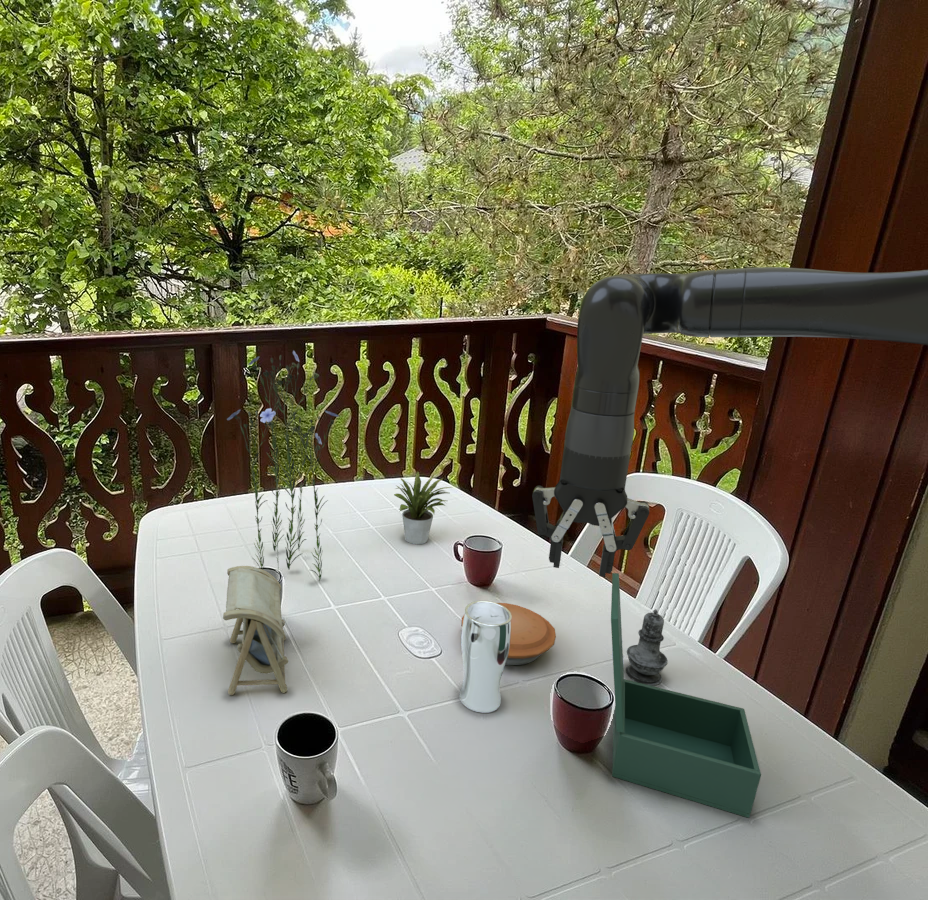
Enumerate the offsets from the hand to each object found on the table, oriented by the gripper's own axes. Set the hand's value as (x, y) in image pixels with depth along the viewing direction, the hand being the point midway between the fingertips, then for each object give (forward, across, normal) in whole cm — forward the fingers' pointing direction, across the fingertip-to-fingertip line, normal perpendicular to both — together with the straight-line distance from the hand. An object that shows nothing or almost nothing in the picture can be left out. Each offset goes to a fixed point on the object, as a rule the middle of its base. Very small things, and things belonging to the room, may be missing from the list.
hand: (579, 569), depth 82 cm
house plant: (+26, -35, +49) cm, 66 cm away
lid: (+10, +6, 0) cm, 12 cm away
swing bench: (+26, -46, -5) cm, 53 cm away
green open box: (+25, +15, 0) cm, 29 cm away
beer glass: (+26, -11, +2) cm, 28 cm away
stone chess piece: (+26, +12, +18) cm, 33 cm away
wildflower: (+26, -57, +26) cm, 67 cm away
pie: (+26, -10, +17) cm, 32 cm away
